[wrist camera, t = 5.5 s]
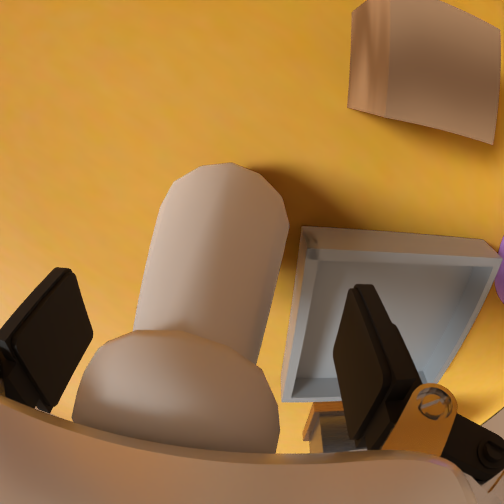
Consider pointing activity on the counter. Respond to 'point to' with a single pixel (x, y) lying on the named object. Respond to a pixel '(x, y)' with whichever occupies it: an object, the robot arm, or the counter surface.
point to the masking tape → (500, 274)
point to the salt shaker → (198, 322)
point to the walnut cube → (426, 66)
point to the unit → (328, 429)
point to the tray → (382, 299)
